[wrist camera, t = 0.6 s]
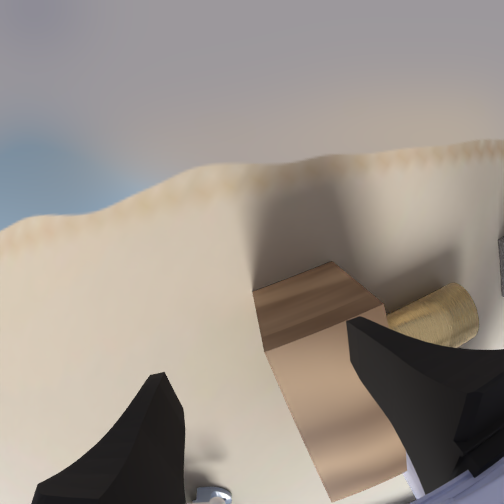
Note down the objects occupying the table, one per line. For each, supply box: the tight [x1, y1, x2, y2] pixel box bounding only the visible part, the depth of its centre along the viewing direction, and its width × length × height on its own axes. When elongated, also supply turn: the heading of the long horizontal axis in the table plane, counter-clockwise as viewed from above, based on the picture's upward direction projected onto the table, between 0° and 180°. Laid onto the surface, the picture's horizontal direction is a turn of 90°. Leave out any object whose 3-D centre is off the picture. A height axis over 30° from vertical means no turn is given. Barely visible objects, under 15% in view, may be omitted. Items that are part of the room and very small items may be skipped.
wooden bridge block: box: [253, 261, 407, 502], centre depth 20 cm, size 15×6×8 cm, turn 20°
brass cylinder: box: [386, 283, 479, 348], centre depth 22 cm, size 5×12×5 cm, turn 110°
